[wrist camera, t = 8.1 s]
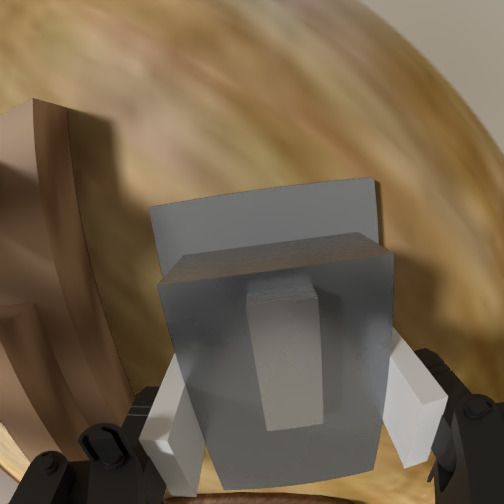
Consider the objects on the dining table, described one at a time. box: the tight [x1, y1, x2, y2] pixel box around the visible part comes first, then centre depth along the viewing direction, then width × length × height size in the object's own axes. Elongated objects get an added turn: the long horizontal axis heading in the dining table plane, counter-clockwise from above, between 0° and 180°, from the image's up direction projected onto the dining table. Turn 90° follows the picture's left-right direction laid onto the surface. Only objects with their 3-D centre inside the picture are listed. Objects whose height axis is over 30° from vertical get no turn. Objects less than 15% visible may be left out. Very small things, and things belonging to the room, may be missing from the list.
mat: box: [149, 177, 379, 278], centre depth 15 cm, size 12×10×1 cm
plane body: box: [0, 98, 135, 463], centre depth 11 cm, size 20×8×8 cm, turn 8°
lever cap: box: [157, 232, 394, 490], centre depth 10 cm, size 9×6×4 cm, turn 8°
